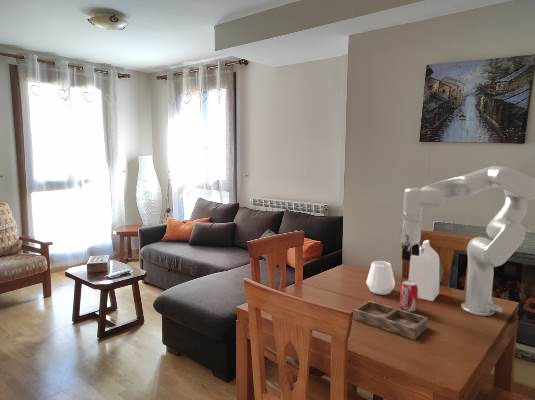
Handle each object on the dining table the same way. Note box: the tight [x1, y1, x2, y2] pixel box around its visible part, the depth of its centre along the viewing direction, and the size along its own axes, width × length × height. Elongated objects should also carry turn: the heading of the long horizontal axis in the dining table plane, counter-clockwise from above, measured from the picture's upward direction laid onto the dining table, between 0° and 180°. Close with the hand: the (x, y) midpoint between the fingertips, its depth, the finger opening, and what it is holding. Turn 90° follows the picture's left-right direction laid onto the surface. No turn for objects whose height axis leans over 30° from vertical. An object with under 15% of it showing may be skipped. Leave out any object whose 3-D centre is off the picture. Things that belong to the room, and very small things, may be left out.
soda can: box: [399, 280, 419, 313], centre depth 163 cm, size 7×7×12 cm
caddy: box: [352, 300, 429, 340], centre depth 151 cm, size 25×13×4 cm, turn 47°
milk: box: [407, 239, 440, 302], centre depth 180 cm, size 12×12×26 cm
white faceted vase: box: [366, 260, 396, 296], centre depth 185 cm, size 13×13×14 cm
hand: (410, 257), depth 161 cm, fingers open, 9 cm apart
